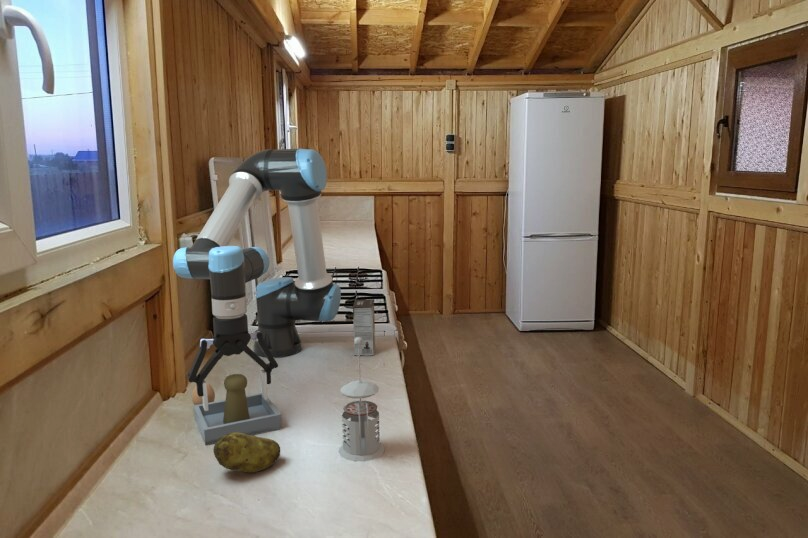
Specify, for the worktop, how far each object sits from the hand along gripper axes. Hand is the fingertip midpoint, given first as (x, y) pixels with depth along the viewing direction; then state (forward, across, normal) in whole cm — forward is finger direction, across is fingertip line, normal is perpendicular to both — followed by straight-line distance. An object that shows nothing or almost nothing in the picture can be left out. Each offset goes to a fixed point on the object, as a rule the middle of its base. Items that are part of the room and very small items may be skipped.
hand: (235, 403), depth 143 cm
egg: (+5, -5, +13) cm, 15 cm away
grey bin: (+5, 0, 0) cm, 5 cm away
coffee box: (+5, +48, +34) cm, 59 cm away
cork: (+4, 0, 0) cm, 5 cm away
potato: (+5, -2, -22) cm, 23 cm away
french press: (+5, +20, -26) cm, 34 cm away
